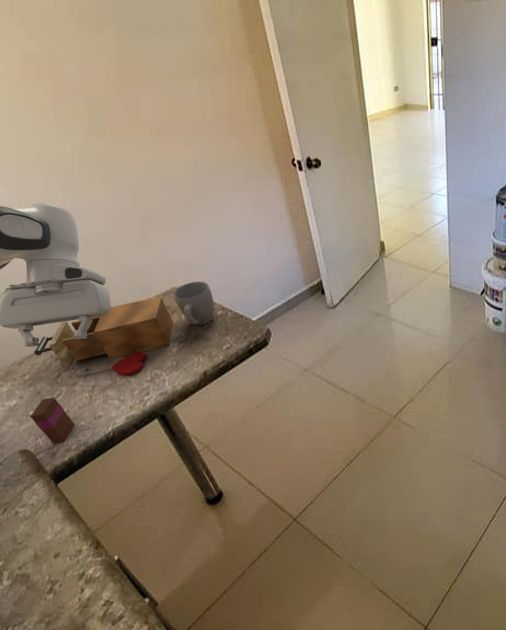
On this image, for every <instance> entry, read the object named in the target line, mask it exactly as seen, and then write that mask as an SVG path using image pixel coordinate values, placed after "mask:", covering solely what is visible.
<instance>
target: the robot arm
mask: <svg viewBox="0 0 506 630" xmlns="http://www.w3.org/2000/svg"><path fill="white" fill-rule="evenodd" d="M79 250H80V242H79V231H78V226H77V223H76V219H75V218H74V216H73V215H72V214H71V212H69V210H67V209H65V208H64V207H61V206H59V205H57V204H56V205H55V204H52V203H46V202H45V203H44V202H37V203H34V204H33V203H32V204H31V205H29V206H23V207H8V206H0V270H3V269H4V268H5V267H7V265H9V264H10V263H11V262H12V261H13V260H15V259H21V260H24V262H25V264H26V282H23V283H18V284H10V285H8V286H7V287H5V288H4V289H2V290H1V292H0V326H1V327H2V328H7V329H12V330H13V329H14V330H15V329H17V331H18V332H19V334H20V335H21V337H23V338H24V347H28V348H32V347H37V346H38V345H39V343H40V338H39V337H35V336H34V335H33V333H32V332H33V331H34V327H37V326H43V325H50V324H57V323H61V322H66V321H67V322H70V321H80V322H81V324H80V326H79V328H78V330H75V329H74V330H73V332H74V334H75V335H74V338H75V339H78V340H79V339H86V338H87V330H88V329H89V327H90V325H91V324H92V318H93V317H98V316H105V315H107V314H108V313H109V312H110V310H111V307H112V306H111V297H110V292H109V290H108V288H107V286H105V285H106V277H105V276H104V275H102V274H100V273H99V272H96V271H93V270H91V269H88V268H86V267H81V265H80V262H79V259H78V253H79Z"/></svg>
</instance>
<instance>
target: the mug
mask: <svg viewBox="0 0 506 630" xmlns="http://www.w3.org/2000/svg"><path fill="white" fill-rule="evenodd" d="M173 299H174V302H175V303H176V305H177V306H178V309H179V310H180V311H181V313H182V314H183V315H184V317H185V320H187V322H188V323H189V324H190V325H195V326H202V324H203V325H205V323H206V324H208V323H210V322H211V321H212V320H213V319H214V311H215V303H214V297H213V293H212V291H211V288H210V286H209V284H208V283H207V282H205V281H192V282H188V283H186V284H182V285H181V286H179V287H178V288H176V289H175V290H174V292H173ZM212 318H213V319H212ZM211 319H212V320H211ZM210 320H211V321H210ZM209 321H210V322H209ZM207 322H208V323H207Z"/></svg>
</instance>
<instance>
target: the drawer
mask: <svg viewBox="0 0 506 630" xmlns="http://www.w3.org/2000/svg"><path fill="white" fill-rule="evenodd" d="M99 318H100V316H98V317H92V324H91V325H90V327H89V329H88V330H87V338H86V339H79V340H78V339H75V338H74V335H75V334H74V330H78V328H79V326H80V324H81V322H80V321H79V320H74V321H72V322H71V326H72V327H73V329H74V330H73V329H72V328H71V326H70V325H69V323H68V321H64V322H60V324H59V325H58V328H57V329H56V331H55V333H54V334H53V336H50V337H48V336H42V337H41V340H39V345H38V346H36V348H35V350H34V352H33V354H34V355H36V356H41V355H42V354H43V353H47V352H49V351H53V353H54V355H55V356H56V357H57V358H58V360H59V362H60V363H61V364H62V366H63V367H68V366H70V365H71V363H72V361H73V359H74V360H75V361H76V362H78V361H81V360H85V359H89V358H94V357H98V356H103V355H107V353H106V352H105V350H104V348H103V347H102V345H101V343H100V342H99V340H98V339H97V337H96V335H95V334H94V330H95V328H96V326H97V323H98V321H99ZM49 341H50V342H49ZM47 345H48V346H49V347H47Z"/></svg>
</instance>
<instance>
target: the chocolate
mask: <svg viewBox="0 0 506 630" xmlns="http://www.w3.org/2000/svg"><path fill="white" fill-rule="evenodd" d="M30 418H31V419H32V420H33V422H34V423H35V425H36V426H37V427H38V428H39V429H40V430H41V431H42V432H43V434H45V436H46V437H47V438H48V440H49V441H50V442H51V443H52V444H58V443H63V442H66V440H67V438H68V437H69V436H70V433H71V432H72V430H73V428H75V425H76V424H75V423H74V421H73V420H72V419H71V417H70V416H69V414H68V413H66V411H65V409H64V407H62V405H61V403H59V402H58V400H57V399H56V398H55V397H50V398H44V399H41V401H39V404H37V406H36V407H35V409H34V411H33V412H32V413H31V414H30Z"/></svg>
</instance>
